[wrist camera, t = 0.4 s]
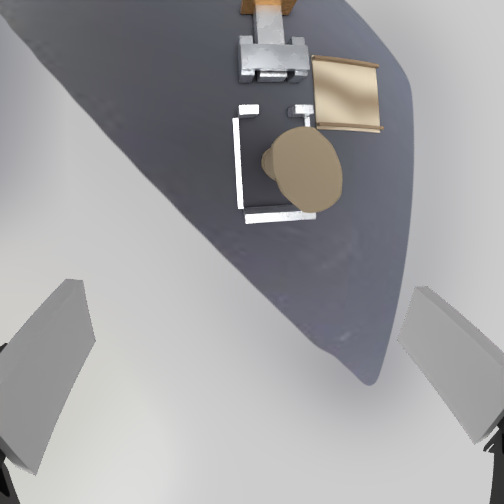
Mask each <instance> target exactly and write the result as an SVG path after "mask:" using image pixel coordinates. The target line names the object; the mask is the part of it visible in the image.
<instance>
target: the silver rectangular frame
mask: <svg viewBox="0 0 504 504" xmlns="http://www.w3.org/2000/svg"><path fill="white" fill-rule="evenodd" d="M237 111H238V118H255V117H256V116H257V115H258V114H259V107H258V105H239V108H238V110H237ZM287 112H288V117H304V126H307V127H310V117H306V116H309V115H311V114H313V105H294V106H292V107H290V108H289V109H287ZM238 118H233V131H234V149H235V166H236V182H237V198H238V209H243V216H244V219H245V222H246V224H247V223H260V222H275V221H290V220H306V219H316V213H305V212H302V211H301V210H300V209H299V208H297V207H296V206H295V205H276V206H260V207H246V208H243V195H242V178H241V160H240V143H239V125H238Z"/></svg>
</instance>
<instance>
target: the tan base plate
mask: <svg viewBox="0 0 504 504" xmlns="http://www.w3.org/2000/svg"><path fill="white" fill-rule="evenodd" d="M311 63H312V74H313V88H314V103H315V121H316V129H327V130H348V131H363V132H375V133H380V130H384V127H383V126H380V123H379V104H378V91H377V80H376V70H375V69H376V68H378V67H379V64H375V63H370V62H364V61H358V60H351V59H344V58H337V57H328V56H318V55H311Z"/></svg>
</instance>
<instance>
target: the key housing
mask: <svg viewBox="0 0 504 504" xmlns="http://www.w3.org/2000/svg"><path fill="white" fill-rule="evenodd" d="M238 66H239V83H251V82H252V80H253V78H254V75H255V71H287V83H299V82H301V81H302V80H303V79H304V78H305V77H307V72H308V71H309V70H310V66H309V55H308V46H305V42H304V38H303V37H291V39H290V40H289V42H288V43H287V45H286V44H253V38H252V36H239V41H238Z"/></svg>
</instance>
